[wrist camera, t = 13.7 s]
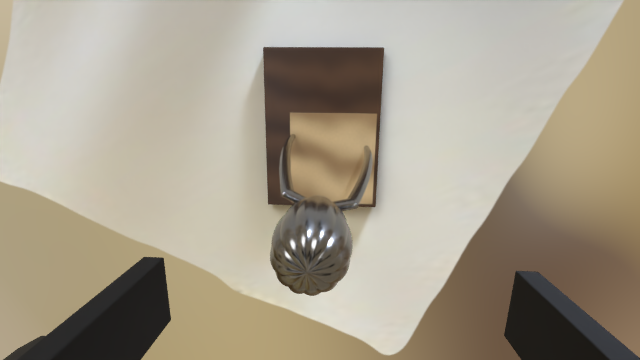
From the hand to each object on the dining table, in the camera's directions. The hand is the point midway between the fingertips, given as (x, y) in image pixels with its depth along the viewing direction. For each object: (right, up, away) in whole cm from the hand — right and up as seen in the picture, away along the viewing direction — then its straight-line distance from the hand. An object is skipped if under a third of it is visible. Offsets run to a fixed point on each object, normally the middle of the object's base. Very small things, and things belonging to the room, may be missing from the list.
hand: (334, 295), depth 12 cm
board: (0, +12, +34) cm, 36 cm away
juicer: (+2, +7, +33) cm, 34 cm away
